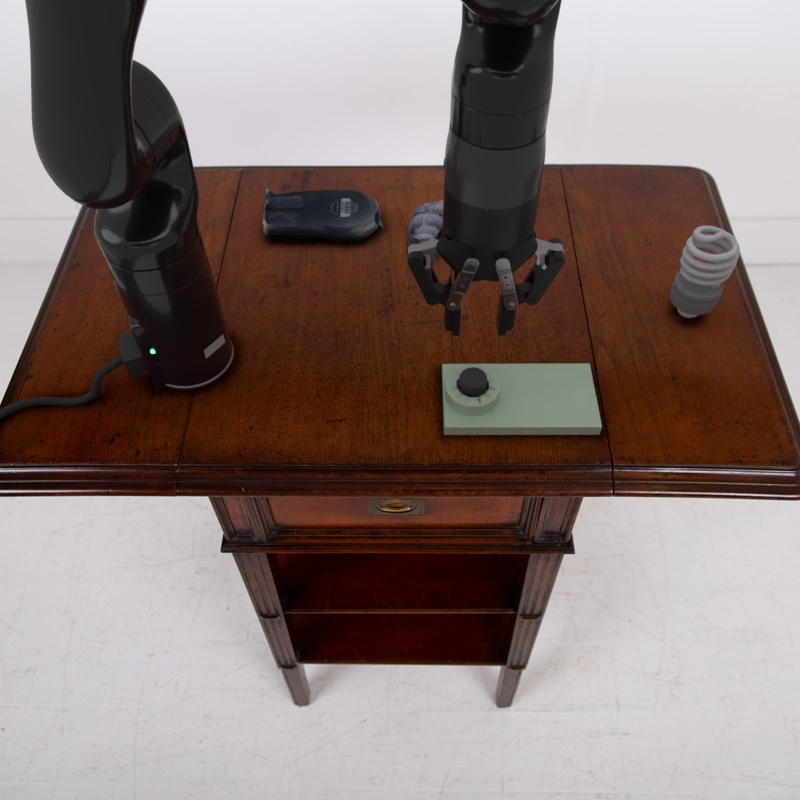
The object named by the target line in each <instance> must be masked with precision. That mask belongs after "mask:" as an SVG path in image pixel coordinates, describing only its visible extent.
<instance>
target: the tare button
mask: <svg viewBox="0 0 800 800" xmlns="http://www.w3.org/2000/svg"><path fill="white" fill-rule="evenodd" d="M486 384H487V375H486V373H485V372H484V371H483V370H481V369H479V368H476V367H470V368H467V369H465V370H463V371H462V372H461V374H460V380H459V388H460V391H461V392H462V393H463V394H464V395H466V396H469V397H477V396H480V395H482V394H483V393H484V392H485V390H486Z"/></svg>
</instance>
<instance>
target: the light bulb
mask: <svg viewBox="0 0 800 800" xmlns="http://www.w3.org/2000/svg"><path fill="white" fill-rule="evenodd" d="M703 249H704V250H703ZM740 249H741V248H740V244H739V241H738V240H737V238H736V237H735V236H734V235H733V234H731V233H730V232H729V231H726V230H724V229H723V228H720V227H717V226H714V225H699V226H697V227H696V228H695V229H694V230H693V232H692V235H690V236H689V238H688V239H687V240H686V242H685V246H684V247H683V248H682V253H681V256H680V259H679V262H680V266H681V267H680V268H679V271H678V272H677V273H676V275H675V276H674V278H673V281H672V284H671V289H670V293H669V298H670V301H671V304H672V305H673V306H674V307H675V308H676V309H677V312H678V313H679V315H680V316H682V317H684V318H688V319H692V318H696V317H698V316H701V315H705V314H708V313H710V312H711V311H712V310H714V309H715V307H716V305H717V304H718V303H719V300H720V298H721V297H722V294H723V291H724V282H726V281H727V280H729V278H730V277H731V275H732V274H733V271H734V269H735V268H736V267H737V263H738V259H739V258H740V255H741V250H740ZM707 250H708V251H707Z"/></svg>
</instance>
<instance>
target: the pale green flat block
mask: <svg viewBox="0 0 800 800" xmlns="http://www.w3.org/2000/svg"><path fill="white" fill-rule="evenodd" d="M470 367H476V368H479V369H481V370H483V371H484V372H485V373H486V375H487V384H486V390H485V392H484V393H483V394H482V395H480V396H477V397H469V396H466V395H464V394H463V393H462V392H461V391H460V388H459V380H460V374H461V372H462V371H463V370H465V369H467V368H470ZM593 378H594V377H593V373H592V369H591V364H590V363H584V362H583V363H577V362H576V363H574V362H573V363H442V365H441V383H442V384H441V386H442V388H441V389H442V414H443V415H442V416H443V417H442V419H443V435H444V436H557V435H558V436H600V435H601V432H602V429H603V425H602V419H601V414H600V407H599V404H598V403H599V402H598V398H597V394H596V388H595V383H594V379H593Z"/></svg>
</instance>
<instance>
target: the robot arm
mask: <svg viewBox="0 0 800 800" xmlns="http://www.w3.org/2000/svg"><path fill="white" fill-rule="evenodd" d="M562 1H563V0H460V2H461V23H460V26H461V27H460V34H459V38H458V43H457V47H456V49H455V50H456V51H455V55H454V59H453V65H452V73H451V83H450V86H451V88H450V89H451V90H450V111H449V126H448V133H447V137H446V143H445V151H444V158H443V164H442V165H443V166H442V167H443V170H444V173H443V174H444V175H443V199H442V200H443V225H442V228H441V229H440V231H439V232H438V234H437V236H436V239H434V240H430V241H427V242H423V243H422V242H421V241H420V240H419V239H417V238H412V239H410V238H409V240H408V241H407V265H408V268H409V269H410V271H411V273H412V276H413V277H414V280H415V281H416V284H417V286H418V287H419V290H420V292H421V294H422V296H423V298H424V300H425V302H426V304H428V305H429V306H437V305H438V304H440V305H442V306H443V307H444V310H443V311H444V313H443V321H444V330H445V331H446V332H451V337H460V330H461V318H462V317H461V316H462V315H461V313H462V306H461V303H462V301H463V298H464V296H465V295H467V293H468V292H469V288H470V285H471V283H476V282H481V281H487V282H493V283H497V282H498V283H499V287H500V293H499V297H498V306H497V313H496V332H497V337H506V336H507V332H511V331H512V330H513V329H514V327H515V319H516V313H517V309H518V308H519V306H520V305H522V304H527V305H529V306H535V305H537V304H538V303H540V301H541V299H542V298H543V297H544V296H545V293H546V292H547V290H548V289H549V288H550V286H551V284H552V283H553V282H554V280H555V279H556V277H557V276H558V274H559V273H560V271H561V270H562V269H563V267H564V265H565V264H566V257H565V250H564V246H563V240H562V239H561V238H560V237H552V238H551V239H549V240H548V241H547V240H544V239H540V238H537V237H538V236H537V233H536V231H535V228H536V227H535V226H536V219H537V214H538V208H539V207H538V206H539V200H540V194H541V188H542V182H543V181H542V180H543V175H544V167H545V161H546V153H547V152H546V151H547V150H546V149H547V142H546V141H547V137H546V136H547V134H546V133H547V125H548V119H549V112H550V107H551V99H552V93H553V83H554V72H555V71H554V68H555V67H554V66H555V40H556V33H557V27H558V22H559V17H560V11H561V6H562ZM24 2H25V9H26V17H27V26H28V39H29V57H30V60H29V61H30V62H29V63H30V105H31V109H30V111H31V128H32V136H33V141H34V145H35V149H36V152H37V155H38V157H39V160H40V162H41V164H42V166H43V168H44V170H45V172H46V173H47V175H48V176H49V178H50V180H52V181H53V183H54V185H55V186H56V187H57V188H58V189H59V190H60V191H61V192H62V193H63V194H64V195H65V196H67V197H68V198H70V199H71V200H73V202H75V203H76V204H78V205H80V206H84V207H86V208H88V209H93V210H96V212H95V215H94V219H93V231H94V236H95V239H96V243H97V245H98V246H99V249H100V251H101V253H102V256H103V258H104V261H105V264H106V265H107V268H108V270H109V273H110V275H111V278H112V280H113V283H114V285H115V287H116V290H117V292H118V294H119V297H120V299H121V301H122V303H123V306H124V309H125V312H126V315H127V320H128V323H129V327H130V330H131V331H129V332H124V333H121V334H118V335H117V339H118V344H119V349H120V355H118V356H117V357H116V358H114V359H112V360H111V361H109V362H107V363H106V364H105V365H104V366H102V367H101V368H100V369H99V370H98V371H97V372H96V373H95V374H94V376H93V377H92V380H91V385H90V391H88V392H87V393H85V394H82V395H80V396H74V397H73V396H72V397H59V396H33V397H32V396H31V397H26V398H23V399H20V400H17V401H14V402H12V403H9V404H8V405H6V406H3V407H2V408H0V421H1V420H3V419H4V418H6V417H7V416H9V415H11V414H13V413H15V412H18V411H20V410H23V409H26V408H29V407H34V406H64V407H65V406H66V407H69V406H71V407H72V406H80V405H85V404H88V403H90V402H92V401H93V400H95V399H96V398H97V397H98V396H99V395H100V392H101V387H102V386H101V384H102V381H103V380H104V379H105V377H106V376H108V375H109V374H110V373H112V372H113V371H114V370H116V369H117V368H119V367H120V366H122V365H123V364H124V367H125V368H126V371H127V373H128V375H129V378H130V379H131V380H134V379H137V378H140V377H144V376H147V375H148V376H149V375H150V378H151V381H152V382H153V385H154V388H155V390H158V391H159V390H163V389H169V390H173V391H180V392H181V391H182V392H186V391H187V392H190V391H196V390H200V389H203V388H206V387H209V386H211V385H213V384H215V383H216V382H218V381H219V380H221V379H222V378H223V377H224V376H225V375H226V374H227V373H228V372H229V371H230V369H231V367H232V365H233V364H234V360H235V347H234V344H233V341H232V337H231V335H230V332H229V329H228V326H227V322H226V319H225V315H224V311H223V308H222V304H221V300H220V297H219V292H218V289H217V286H216V283H215V280H214V279H215V278H214V275H213V271H212V269H211V265H210V261H209V258H208V254H207V251H206V247H205V243H204V240H203V239H204V238H203V236H202V232H201V229H200V225H199V221H198V211H199V206H200V205H199V203H200V194H199V187H198V181H197V177H196V172H195V167H194V161H193V158H192V153H191V148H190V143H189V139H188V134H187V129H186V127H185V123H184V120H183V117H182V114H181V112H180V109H179V107H178V105H177V102H176V101H175V99H174V96H173V95H172V94H171V91H170V90H169V89H168V87H167V86H166V84H165V83H164V82H163V81H162V80H161V78H159V76H157V74H156V73H154V71H152V70H151V69H150V68H148V66H146V65H144V64H143V63H141V62H140V61H137V60H135V59H134V54H135V48H136V43H137V39H138V35H139V32H140V28H141V24H142V21H143V17H144V15H145V11H146V8H147V4H148V0H24ZM437 255H438V256H439V257H440V258H442V260H443V261H444V262H445V263H446V264H447V265H448V267H450V272H449V276H448V278H447V281H446V283H444V282H440V280H439V277H438V276H437V274H436V271H435V269H434V265H435V258H436V256H437ZM533 256H535V262H534V263H533V264H532V267H531V268H530V270H529V271H528V273H527V275H526V276H525V278H524V279H523V281H522V282H519V283H517V282H516V278H515V273H516V271H517V270H518V269H520V268H521V267H522V266H523V265H524V264H526V262H527V261H528V260H530V259H531V258H532V257H533Z"/></svg>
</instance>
